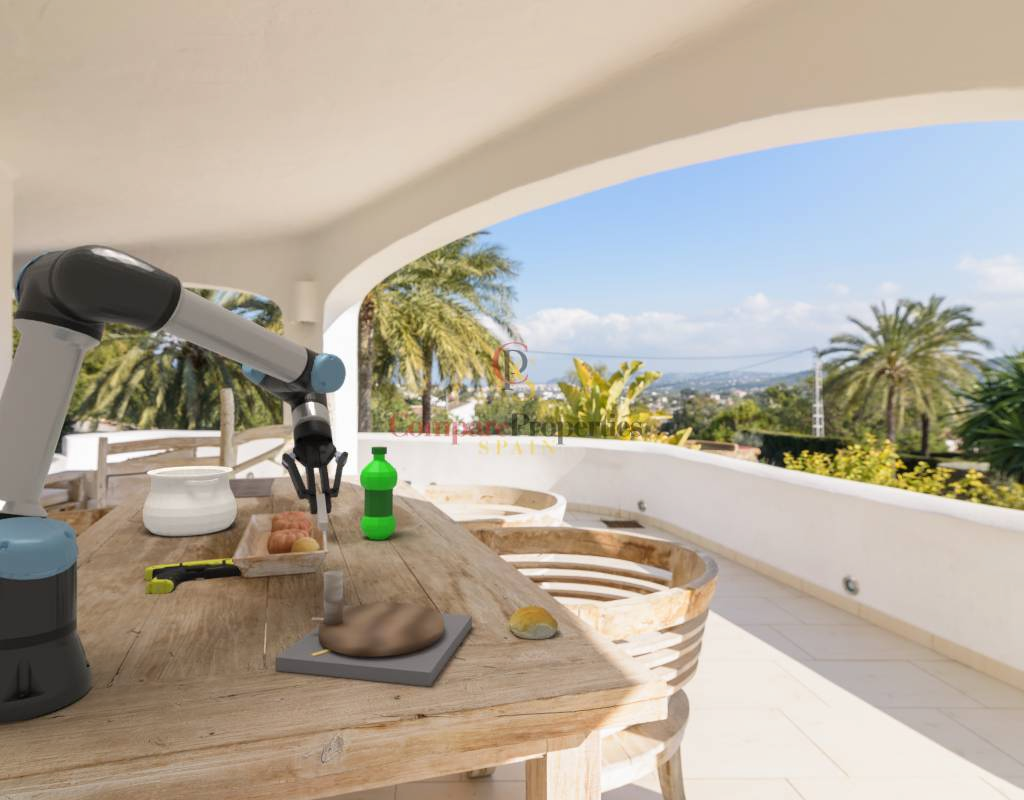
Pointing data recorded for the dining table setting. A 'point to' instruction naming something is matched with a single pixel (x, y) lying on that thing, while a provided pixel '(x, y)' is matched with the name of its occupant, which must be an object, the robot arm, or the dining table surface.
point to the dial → (374, 624)
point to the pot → (189, 501)
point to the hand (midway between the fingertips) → (322, 526)
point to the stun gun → (186, 573)
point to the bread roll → (533, 623)
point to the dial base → (377, 658)
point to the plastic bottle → (378, 496)
